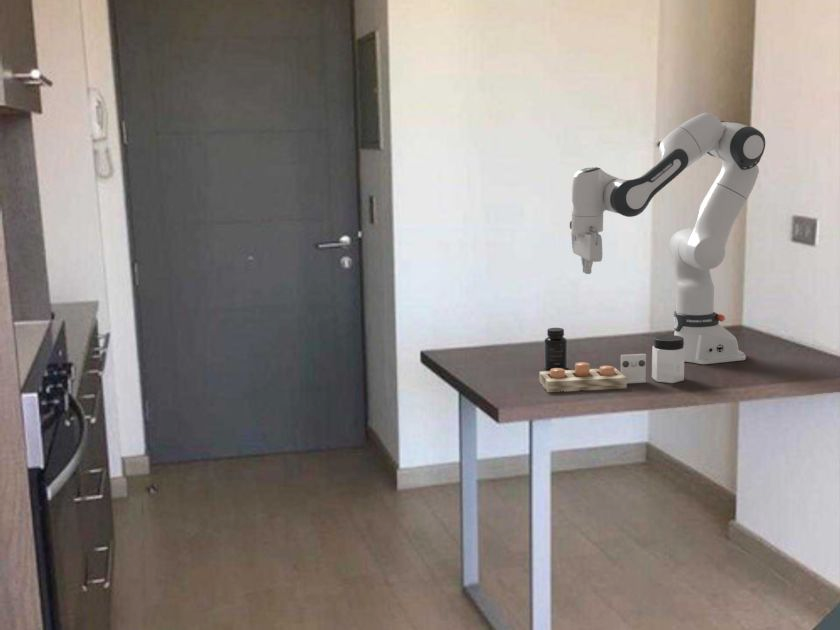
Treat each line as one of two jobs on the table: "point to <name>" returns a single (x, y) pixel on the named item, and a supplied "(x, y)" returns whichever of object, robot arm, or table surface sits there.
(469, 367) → the table surface
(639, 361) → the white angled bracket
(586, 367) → the button mid
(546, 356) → the supplement bottle
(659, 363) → the jar
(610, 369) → the button
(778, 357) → the table surface
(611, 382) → the wooden egg tray
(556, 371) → the button
